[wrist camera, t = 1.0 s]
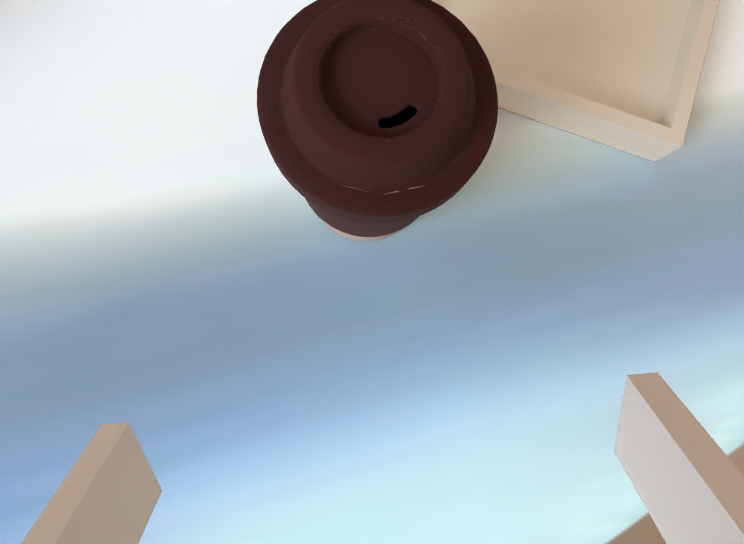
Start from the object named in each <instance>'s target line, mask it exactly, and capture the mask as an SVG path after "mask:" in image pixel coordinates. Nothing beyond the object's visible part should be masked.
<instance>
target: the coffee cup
mask: <svg viewBox="0 0 744 544" xmlns="http://www.w3.org/2000/svg"><path fill="white" fill-rule="evenodd" d="M257 109H258V116H259V122H260V126H261V130H262V133H263V136H264V138H265V141H266V144H267V146H268V148H269V151H270V153H271V155H272V157H273V159H274V161H275V163H276V165H277V166H278V168H279V169H280V171H281V173H282V174H283V176H284V177H285V178H286V179H287V180H288V181H289V183H290V184H291V185H292V186H293V187H294V188H295V189H296V190H297V191H298V192H299V193H300V194H301V195H302V196H304V197H305V199H306V200H307V202H308V204H309V205H310V207H311V208H312V209H313V211H314V212H315V213H316V214H317V215H318V216H319V217H320V218H321V219H322V220H323V222H324V223H325V224H326V225H327V226H328V227H329V228H330V229H332V230H333V231H334V232H336V233H337V234H339V235H341V236H343V237H346V238H348V239H352V240H356V241H375V240H380V239H383V238H386V237H388V236H390V235H392V234H394V233H396V232H397V231H399V230H401V229H403V228H405V227H406V226H408V225H409V224H411V223H412V222H413V221H414V220H415V219H417V218H418V217H419V216H420V215H423V214H425V213H427V212H429V211H431V210H433V209H435V208H437V207H438V206H440V205H442V204H443V203H445V202H446V201H447V200H449V199H450V198H451V197H453V196H454V195H455V194H456V193H457V192H458V191H459V190H460V189H461V188H462V187H463V186H464V185H465V184H466V182H467V181H468V180H469V179H470V178H471V176H472V175H473V174H474V173H475V172H476V170H477V169H478V167H479V166H480V165H481V163H482V161H483V159H484V158H485V156H486V154H487V152H488V150H489V148H490V145H491V142H492V139H493V136H494V132H495V128H496V123H497V114H498V96H497V87H496V82H495V78H494V74H493V71H492V68H491V65H490V63H489V60H488V58H487V56H486V54H485V52H484V50H483V49H482V47H481V45H480V44H479V42H478V40H477V39H476V37H475V36H474V35H473V34H472V33H471V32H470V30H469V29H468V28H467V27H466V26H465V25H464V24H463V22H462V21H461V20H460V19H458V18H457V17H456V16H454V15H453V14H452V13H451V12H449V11H448V10H447V9H445V8H444V7H443V6H441V5H439V4H437V3H435V2H433V1H432V0H317V1H315V2H313V3H312V4H310V5H308V6H307V7H305V8H303V9H302V10H301V11H300V12H299V13H297V14H296V15H295V16H294V17H293V18H292V19H291V20H290V21H289V22H287V24H286V25H285V26H284V27H283V28H282V29H281V30H280V32H279V33H278V34H277V36H276V37H275V39H274V41H273V43H272V44H271V46H270V48H269V50H268V52H267V53H266V55H265V58H264V61H263V64H262V67H261V70H260V75H259V81H258V88H257Z"/></svg>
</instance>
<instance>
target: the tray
mask: <svg viewBox="0 0 744 544" xmlns="http://www.w3.org/2000/svg"><path fill="white" fill-rule="evenodd" d="M432 1H433V2H435V3H437V4H439V5H441V6H443V7H444V8H445V9H447V10H448V11H449V12H451V13H452V14H453V15H454V16H456V17H457V18H458V19H460V20H461V21H462V22H463V24H464V25H465V26H466V27H467V28H468V29H469V30H470V32H471V33H472V34H473V35H474V36H475V37H476V39H477V40H478V42H479V44H480V45H481V47H482V49H483V50H484V52H485V54H486V56H487V58H488V60H489V63H490V65H491V68H492V71H493V74H494V78H495V82H496V87H497V96H498V107H499V108H501V109H504V110H507V111H510V112H513V113H516V114H519V115H522V116H524V117H527V118H530V119H533V120H536V121H539V122H542V123H545V124H547V125H550V126H553V127H556V128H559V129H562V130H565V131H568V132H570V133H573V134H576V135H579V136H582V137H585V138H588V139H591V140H593V141H596V142H599V143H602V144H605V145H608V146H611V147H614V148H616V149H619V150H622V151H625V152H628V153H631V154H634V155H637V156H639V157H642V158H645V159H648V160H651V161H654V162H655V161H656V160H658V159H660V158H662V157H664V156H666V155H668V154H670V153H671V152H673V151H675V150H677V149H679V148H681V147H682V145H683V141H684V137H685V133H686V129H687V125H688V121H689V117H690V113H691V109H692V106H693V102H694V98H695V94H696V90H697V86H698V82H699V78H700V74H701V70H702V66H703V62H704V59H705V55H706V51H707V47H708V43H709V39H710V35H711V31H712V27H713V23H714V19H715V15H716V11H717V8H718V4H719V0H432Z"/></svg>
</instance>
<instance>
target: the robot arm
mask: <svg viewBox="0 0 744 544" xmlns="http://www.w3.org/2000/svg"><path fill="white" fill-rule="evenodd" d="M614 452H615V454H616V456H617V458H618V459H619V461H620V463H621V465H622V466H623V468H624V470H625V472H626V473H627V475H628V477H629V479H630V480H631V482H632V484H633V486H634V487H635V489H636V491H637V493H638V494H639V496H640V498H641V500H642V501H643V503H644V505H645V507H646V508H647V510H648V512H649V514H650V515H651V517H652V519H653V520H654V522H655V524H656V526H657V528H658V529H659V531H660V533H661V535H662V536H663V538H664V540H665V542H666V543H667V544H744V476H743V475H742V474H741V473H740V471H739V470H738V469H737V468H736V467H735V465H734V464H733V463H732V462H731V461H730V460H729V458H728V457H727V456H726V455H725V453H724V452H723V451H722V450H721V448H720V447H719V446H718V445H717V444H716V442H715V441H714V440H713V439H712V438H711V436H710V435H709V434H708V433H707V432H706V430H705V429H704V428H703V427H702V426H701V424H700V423H699V422H698V421H697V419H696V418H695V417H694V416H693V415H692V413H691V412H690V411H689V410H688V409H687V407H686V406H685V405H684V404H683V403H682V401H681V400H680V399H679V398H678V397H677V395H676V394H675V393H674V392H673V391H672V389H671V388H670V387H669V386H668V384H667V383H666V382H665V381H664V380H663V378H662V377H661V376H660V375H659V374H658V372H657V373H646V374H636V375H627V377H626V383H625V389H624V395H623V401H622V407H621V413H620V419H619V425H618V431H617V437H616V443H615V449H614ZM161 492H162V489H161V487H160V485H159V483H158V481H157V479H156V477H155V475H154V473H153V471H152V469H151V467H150V465H149V463H148V461H147V458H146V456H145V454H144V452H143V450H142V448H141V446H140V444H139V442H138V440H137V438H136V436H135V434H134V432H133V430H132V428H131V426H130V424H129V422H125V423H114V424H103V425H101V426H100V427H99V429H98V430H97V432H96V433H95V435H94V436H93V438H92V439H91V441H90V442H89V444H88V445H87V447H86V448H85V450H84V451H83V453H82V454H81V456H80V457H79V459H78V460H77V462H76V463H75V465H74V466H73V468H72V469H71V470H70V472H69V473H68V475H67V476H66V478H65V479H64V481H63V482H62V484H61V485H60V487H59V488H58V490H57V491H56V493H55V494H54V496H53V497H52V499H51V500H50V502H49V503H48V505H47V506H46V508H45V509H44V511H43V512H42V514H41V515H40V516H39V518H38V519H37V521H36V522H35V524H34V525H33V527H32V528H31V530H30V531H29V533H28V534H27V536H26V537H25V539H24V540H23V542H22V543H21V544H138V543H139V541H140V538H141V536H142V534H143V532H144V529H145V527H146V525H147V523H148V521H149V518H150V516H151V514H152V512H153V509H154V507H155V505H156V503H157V500H158V498H159V496H160V494H161Z"/></svg>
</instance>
